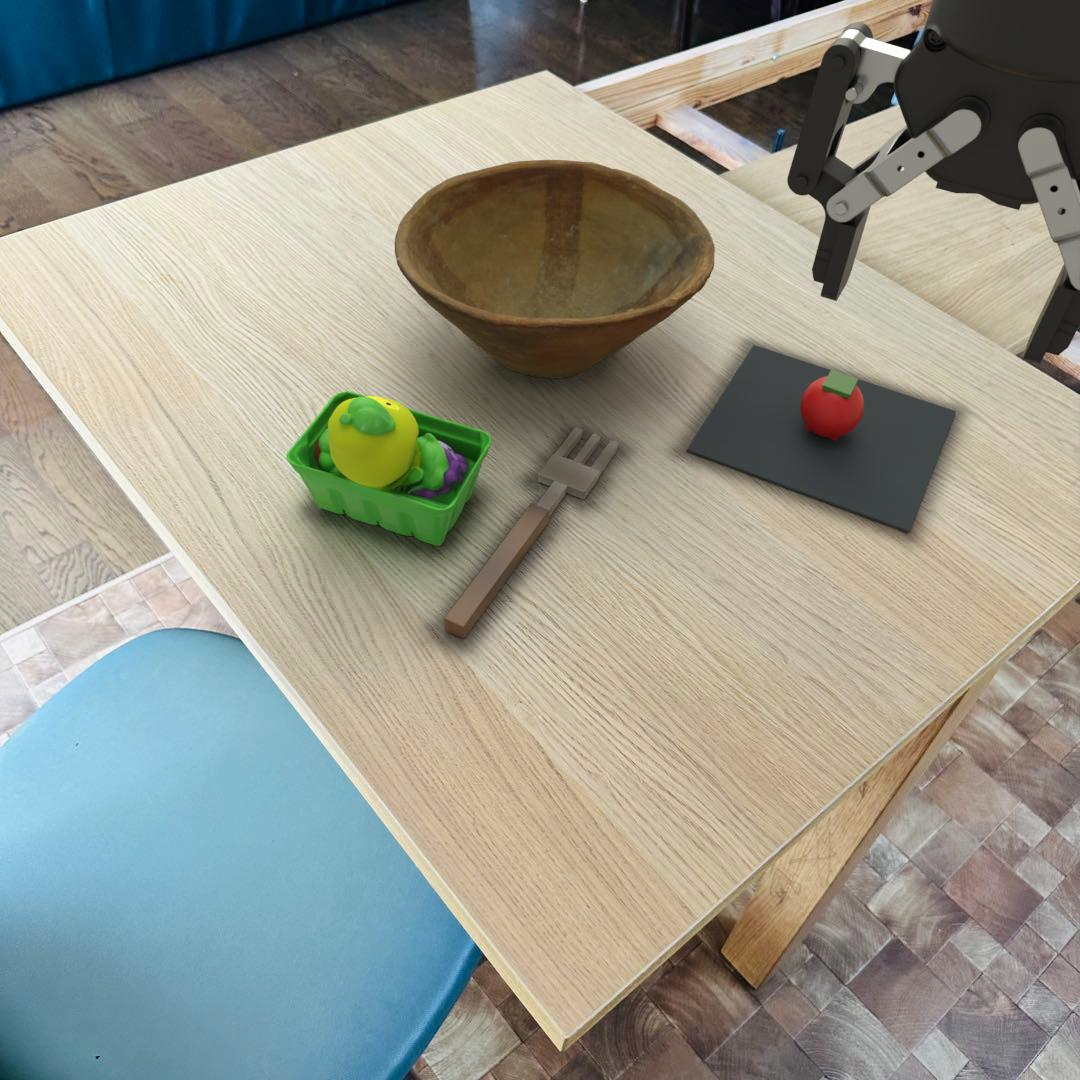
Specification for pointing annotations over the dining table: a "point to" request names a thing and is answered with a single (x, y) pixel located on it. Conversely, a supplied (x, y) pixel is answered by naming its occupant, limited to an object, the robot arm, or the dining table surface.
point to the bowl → (553, 260)
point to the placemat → (826, 440)
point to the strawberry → (832, 405)
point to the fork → (530, 526)
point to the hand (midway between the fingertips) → (931, 320)
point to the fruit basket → (390, 465)
